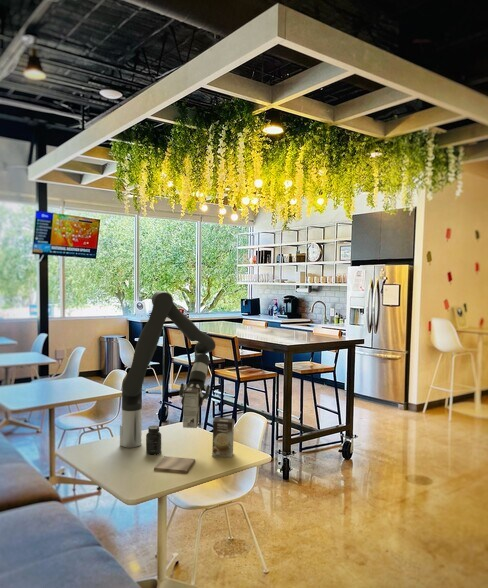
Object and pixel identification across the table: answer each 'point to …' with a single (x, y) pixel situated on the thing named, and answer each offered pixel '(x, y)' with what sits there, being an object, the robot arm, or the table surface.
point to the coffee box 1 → (191, 407)
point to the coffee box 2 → (223, 437)
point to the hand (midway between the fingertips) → (191, 405)
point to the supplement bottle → (153, 441)
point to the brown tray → (174, 464)
